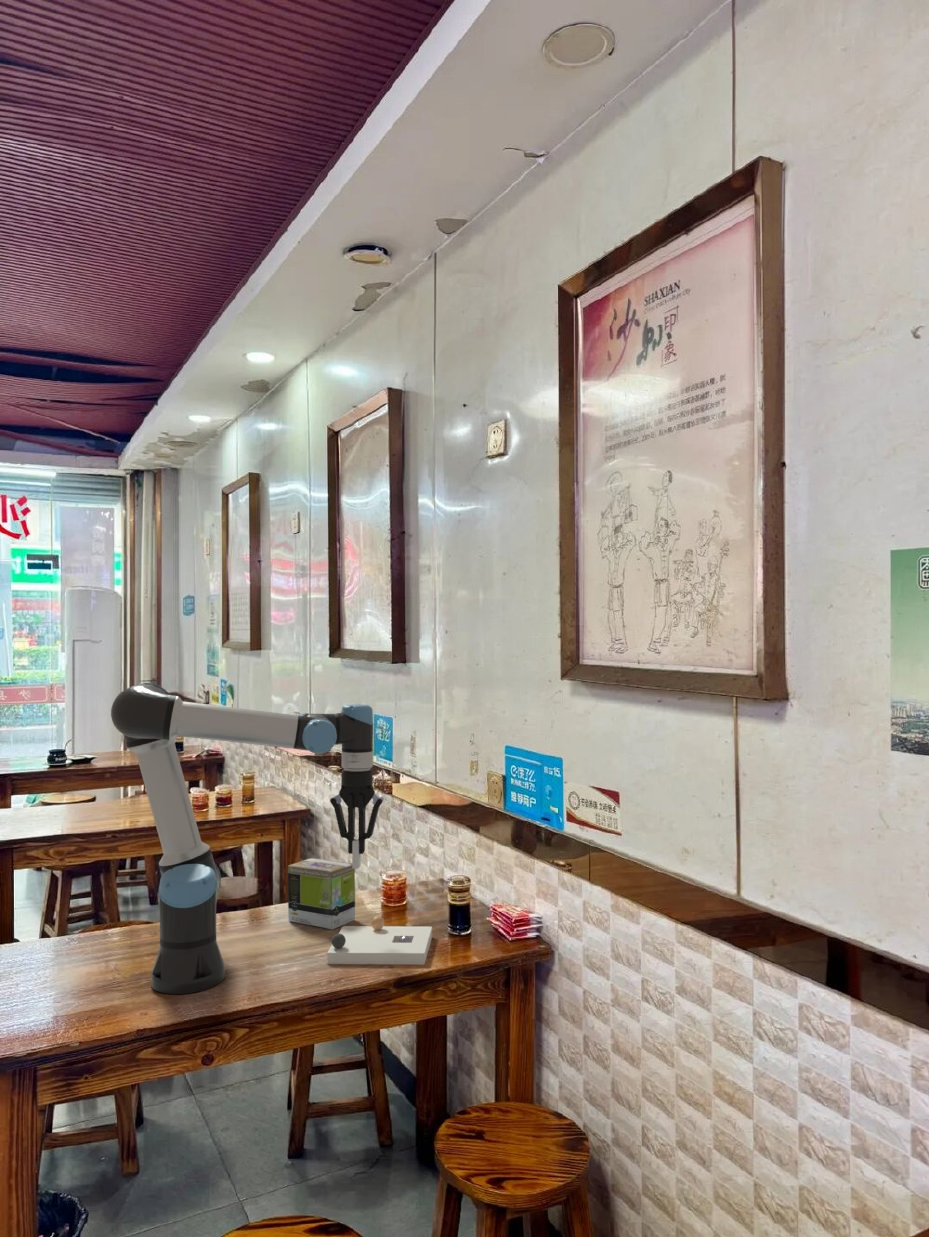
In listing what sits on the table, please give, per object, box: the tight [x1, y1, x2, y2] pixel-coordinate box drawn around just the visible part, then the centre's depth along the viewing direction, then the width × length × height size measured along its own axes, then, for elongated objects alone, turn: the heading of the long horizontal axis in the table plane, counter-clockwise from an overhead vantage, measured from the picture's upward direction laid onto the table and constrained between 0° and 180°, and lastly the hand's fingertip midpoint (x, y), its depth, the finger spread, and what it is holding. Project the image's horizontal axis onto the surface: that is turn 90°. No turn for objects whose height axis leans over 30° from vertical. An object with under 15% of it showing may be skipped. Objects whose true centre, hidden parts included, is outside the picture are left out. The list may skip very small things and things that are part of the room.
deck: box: [326, 925, 433, 966], centre depth 202 cm, size 22×18×2 cm
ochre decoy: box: [370, 915, 385, 930], centre depth 209 cm, size 3×3×3 cm
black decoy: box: [331, 933, 346, 948], centre depth 197 cm, size 3×3×3 cm
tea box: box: [287, 857, 356, 930], centre depth 224 cm, size 15×10×15 cm
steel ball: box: [399, 936, 412, 943], centre depth 202 cm, size 3×3×3 cm
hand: (356, 867), depth 208 cm, fingers closed
